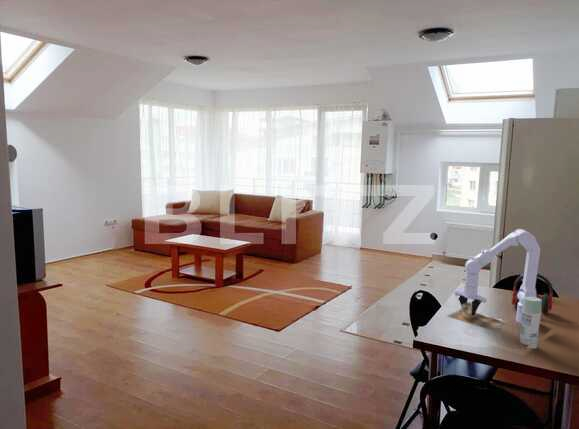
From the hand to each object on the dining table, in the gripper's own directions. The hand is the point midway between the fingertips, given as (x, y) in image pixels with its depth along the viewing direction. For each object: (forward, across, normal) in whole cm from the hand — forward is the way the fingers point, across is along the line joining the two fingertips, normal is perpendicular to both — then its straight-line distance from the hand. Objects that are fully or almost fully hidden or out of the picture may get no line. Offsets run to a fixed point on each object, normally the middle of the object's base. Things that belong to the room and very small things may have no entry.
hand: (468, 313), depth 212 cm
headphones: (+3, +15, +36) cm, 39 cm away
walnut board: (+3, +4, 0) cm, 5 cm away
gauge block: (+1, 0, 0) cm, 1 cm away
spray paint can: (+3, +30, -10) cm, 32 cm away
